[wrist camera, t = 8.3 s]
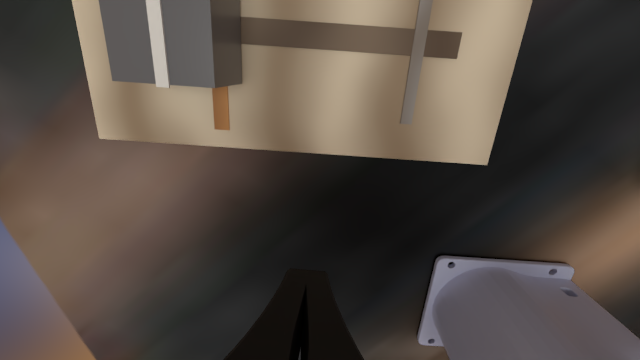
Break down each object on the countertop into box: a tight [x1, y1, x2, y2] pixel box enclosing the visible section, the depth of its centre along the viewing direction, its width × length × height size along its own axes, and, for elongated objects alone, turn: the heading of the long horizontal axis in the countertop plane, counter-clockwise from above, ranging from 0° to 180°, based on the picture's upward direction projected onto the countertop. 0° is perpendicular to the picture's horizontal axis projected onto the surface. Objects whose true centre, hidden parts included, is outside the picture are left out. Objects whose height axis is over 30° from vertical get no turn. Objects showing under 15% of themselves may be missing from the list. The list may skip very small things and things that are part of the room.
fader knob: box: [99, 0, 242, 88], centre depth 12 cm, size 4×5×4 cm
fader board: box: [72, 0, 532, 165], centre depth 15 cm, size 22×12×2 cm, turn 86°
